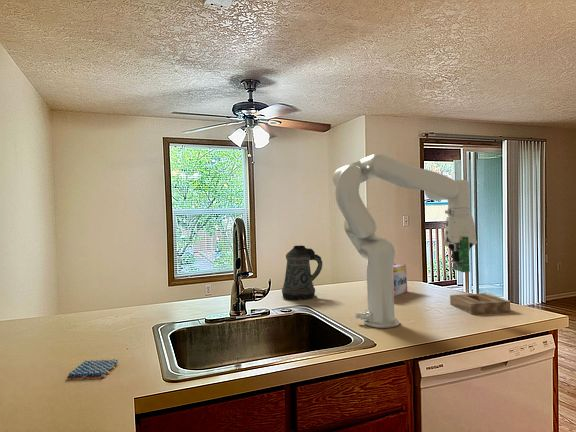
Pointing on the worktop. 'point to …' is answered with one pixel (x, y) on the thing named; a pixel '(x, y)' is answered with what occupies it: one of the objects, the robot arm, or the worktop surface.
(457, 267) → the coffee box
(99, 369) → the woven mat
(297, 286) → the beer stein
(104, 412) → the worktop surface
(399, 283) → the gum box
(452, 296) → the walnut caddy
